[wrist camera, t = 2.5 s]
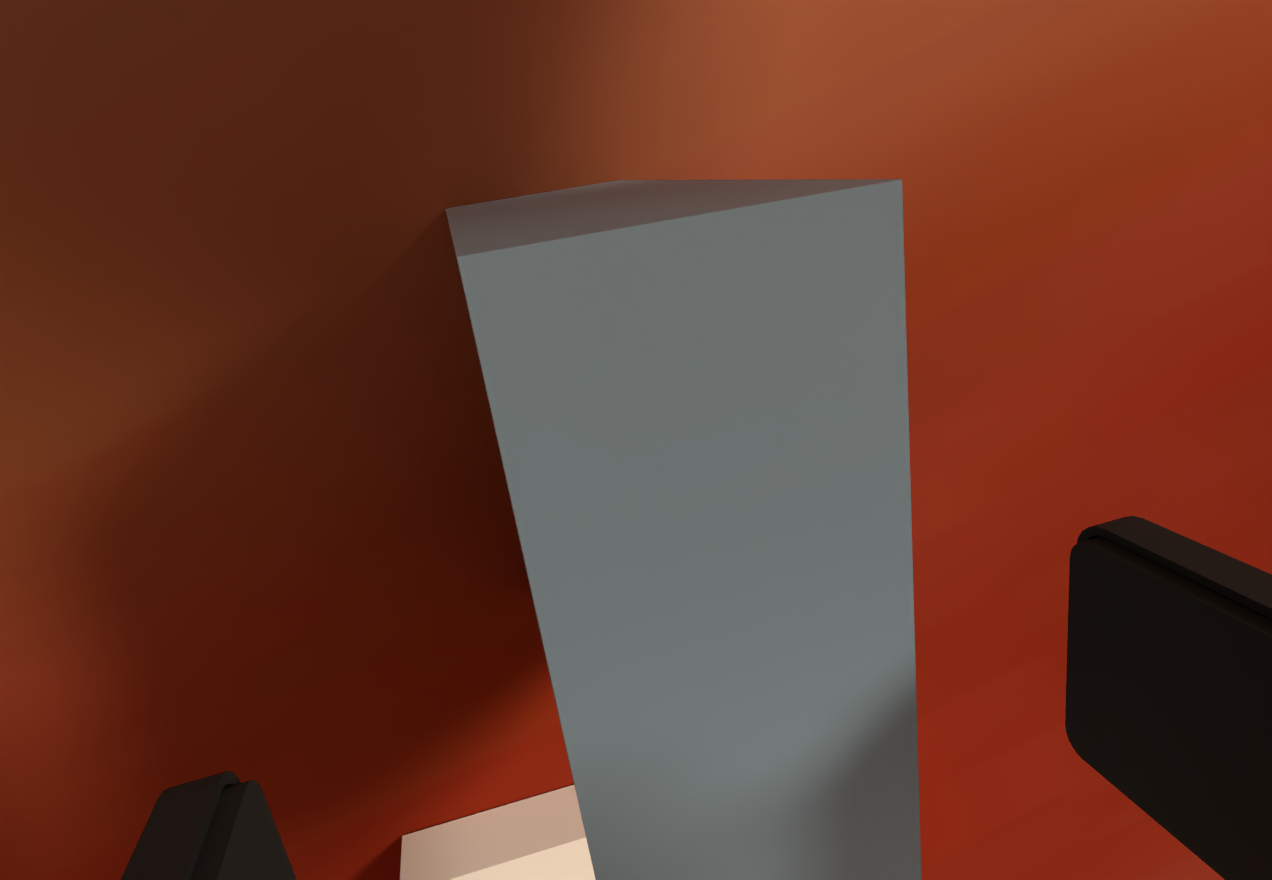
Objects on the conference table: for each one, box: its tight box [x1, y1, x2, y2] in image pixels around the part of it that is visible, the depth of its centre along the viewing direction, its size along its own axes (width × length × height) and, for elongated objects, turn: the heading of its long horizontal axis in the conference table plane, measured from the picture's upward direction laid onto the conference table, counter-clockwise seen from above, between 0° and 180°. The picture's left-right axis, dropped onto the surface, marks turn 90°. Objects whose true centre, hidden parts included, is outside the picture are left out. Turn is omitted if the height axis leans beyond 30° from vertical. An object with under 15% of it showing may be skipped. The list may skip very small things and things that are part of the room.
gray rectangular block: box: [446, 179, 921, 880], centre depth 14 cm, size 10×4×12 cm, turn 9°
